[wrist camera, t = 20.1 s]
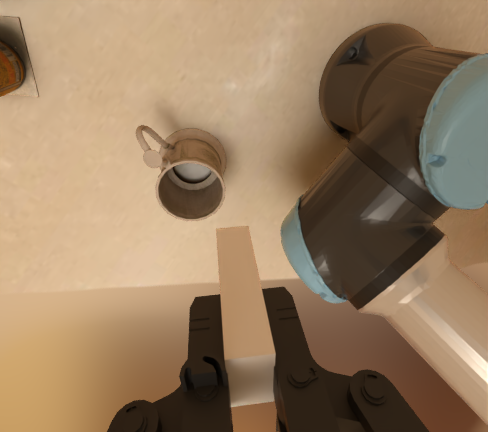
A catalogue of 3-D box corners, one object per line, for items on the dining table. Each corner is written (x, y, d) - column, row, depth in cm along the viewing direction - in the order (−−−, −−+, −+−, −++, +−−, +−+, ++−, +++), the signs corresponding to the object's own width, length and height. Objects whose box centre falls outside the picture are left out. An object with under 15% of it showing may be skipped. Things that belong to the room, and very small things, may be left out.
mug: (238, 169, 48) (247, 210, 38) (186, 201, 50) (182, 248, 40) (179, 85, 41) (171, 109, 31) (121, 126, 43) (96, 161, 33)
